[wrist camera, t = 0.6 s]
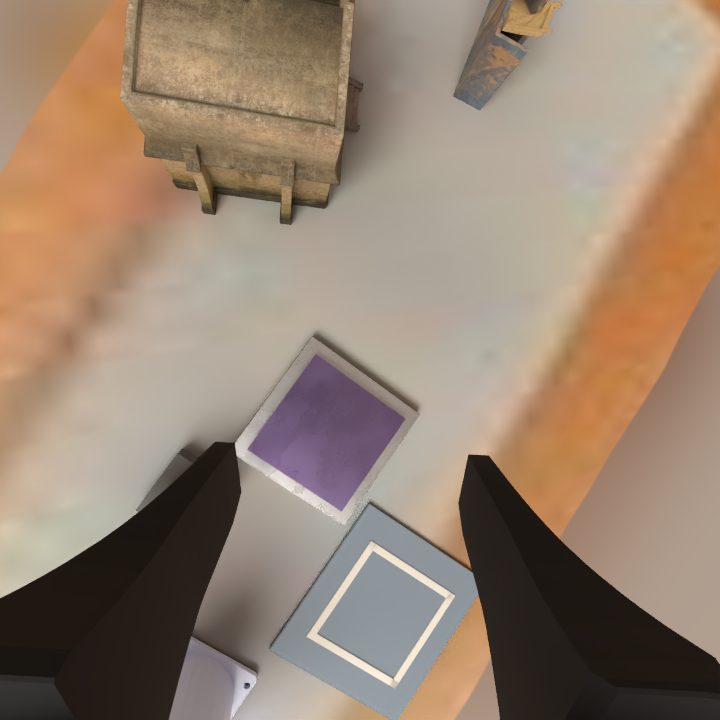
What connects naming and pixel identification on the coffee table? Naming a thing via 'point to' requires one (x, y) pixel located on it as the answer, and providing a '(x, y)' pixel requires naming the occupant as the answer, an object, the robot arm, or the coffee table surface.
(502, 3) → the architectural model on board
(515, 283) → the coffee table surface
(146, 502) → the wooden stamp
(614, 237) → the coffee table surface
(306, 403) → the ink pad
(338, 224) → the coffee table surface
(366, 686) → the marked board
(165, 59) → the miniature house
